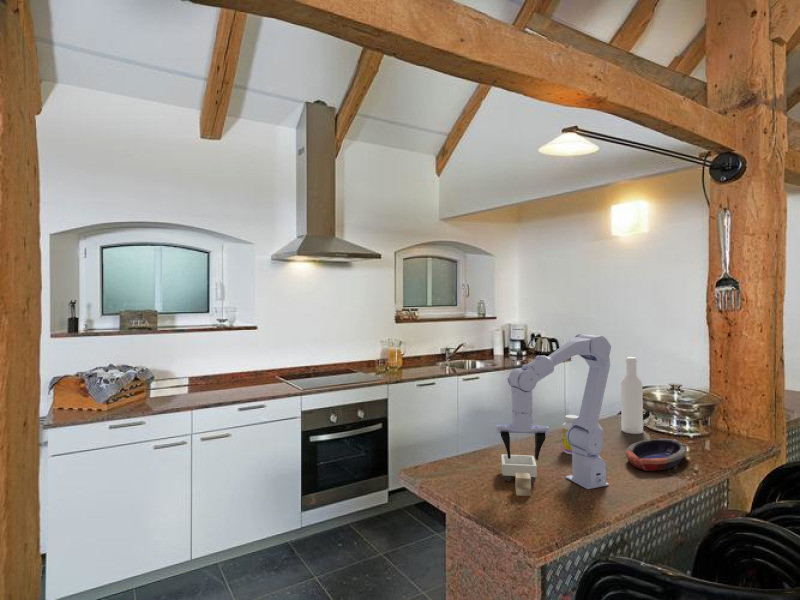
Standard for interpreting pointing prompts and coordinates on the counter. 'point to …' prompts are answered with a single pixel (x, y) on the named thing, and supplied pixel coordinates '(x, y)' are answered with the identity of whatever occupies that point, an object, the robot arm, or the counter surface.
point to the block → (523, 484)
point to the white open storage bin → (518, 466)
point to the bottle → (631, 400)
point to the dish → (655, 454)
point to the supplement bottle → (566, 427)
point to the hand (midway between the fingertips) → (522, 458)
